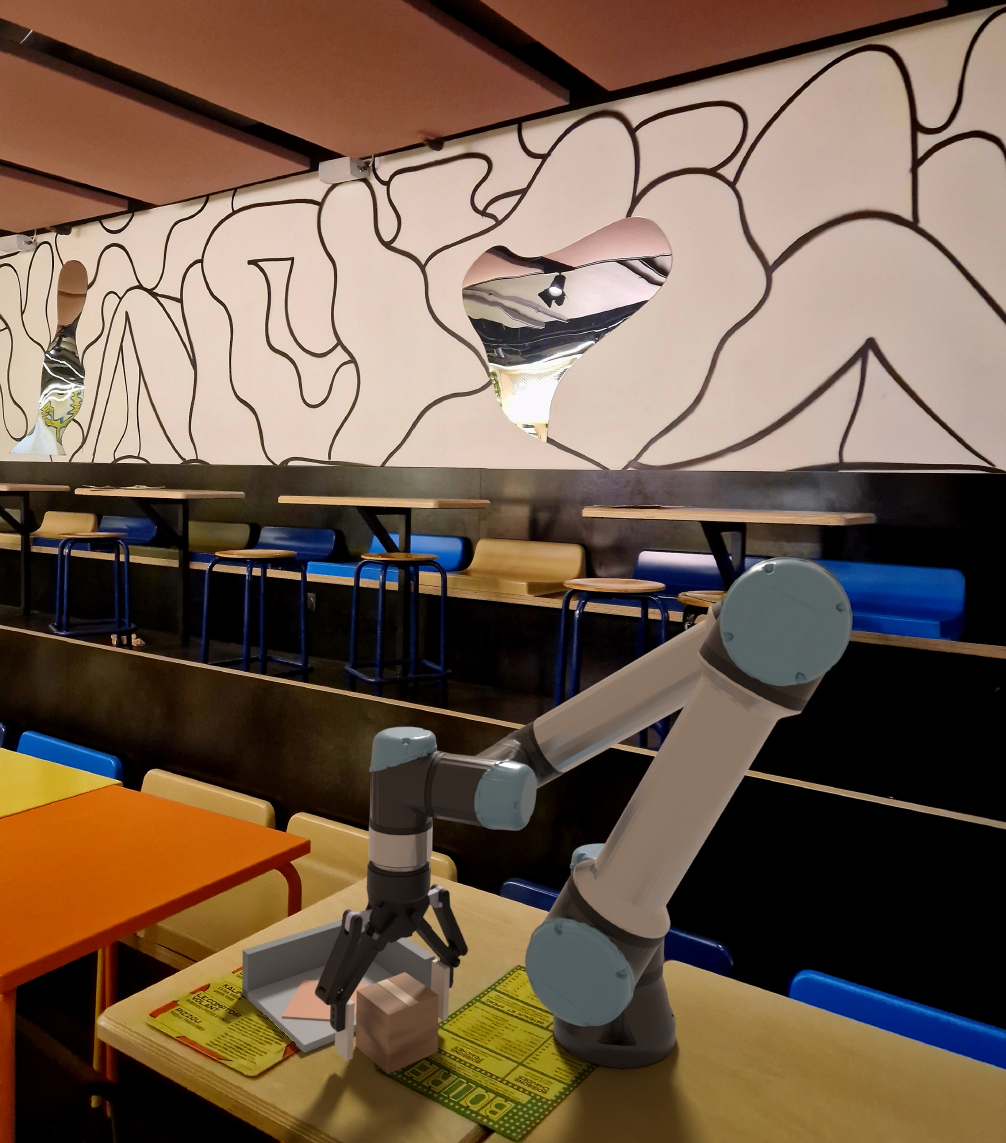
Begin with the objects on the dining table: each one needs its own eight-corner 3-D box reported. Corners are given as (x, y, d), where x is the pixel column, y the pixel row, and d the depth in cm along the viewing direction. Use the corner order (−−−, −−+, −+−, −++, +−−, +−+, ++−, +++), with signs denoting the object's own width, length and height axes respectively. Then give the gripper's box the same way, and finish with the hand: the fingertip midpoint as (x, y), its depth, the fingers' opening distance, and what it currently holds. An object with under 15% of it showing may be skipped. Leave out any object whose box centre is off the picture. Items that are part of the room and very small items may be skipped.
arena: (434, 1000, 117) (435, 955, 117) (304, 1053, 105) (304, 1003, 105) (365, 952, 130) (365, 912, 130) (242, 994, 118) (242, 949, 118)
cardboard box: (437, 1052, 106) (438, 994, 106) (388, 1074, 101) (389, 1014, 101) (404, 1026, 111) (405, 971, 111) (355, 1046, 107) (356, 989, 106)
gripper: (462, 830, 116) (456, 988, 117) (288, 873, 100) (283, 1056, 101) (500, 847, 111) (493, 1013, 112) (321, 896, 94) (315, 1089, 95)
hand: (393, 1033), depth 106 cm, fingers open, 13 cm apart
